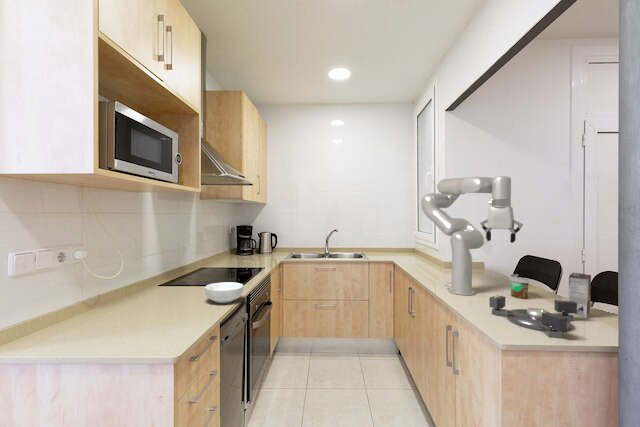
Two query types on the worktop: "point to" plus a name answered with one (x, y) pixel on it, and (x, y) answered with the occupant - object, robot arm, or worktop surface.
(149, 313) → the worktop surface
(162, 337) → the worktop surface
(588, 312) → the coffee box
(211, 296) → the cereal bowl
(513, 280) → the food container
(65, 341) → the worktop surface
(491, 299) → the dark grey bracket
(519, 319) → the levelling base
